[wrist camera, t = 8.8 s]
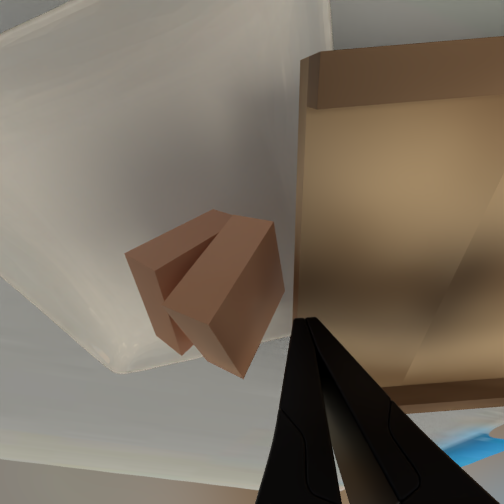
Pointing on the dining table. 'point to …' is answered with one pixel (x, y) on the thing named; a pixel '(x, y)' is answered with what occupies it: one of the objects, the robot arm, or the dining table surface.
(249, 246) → the tile
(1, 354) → the dining table surface
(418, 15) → the dining table surface
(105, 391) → the dining table surface
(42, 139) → the salad plate
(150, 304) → the tile
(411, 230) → the tan wooden box
